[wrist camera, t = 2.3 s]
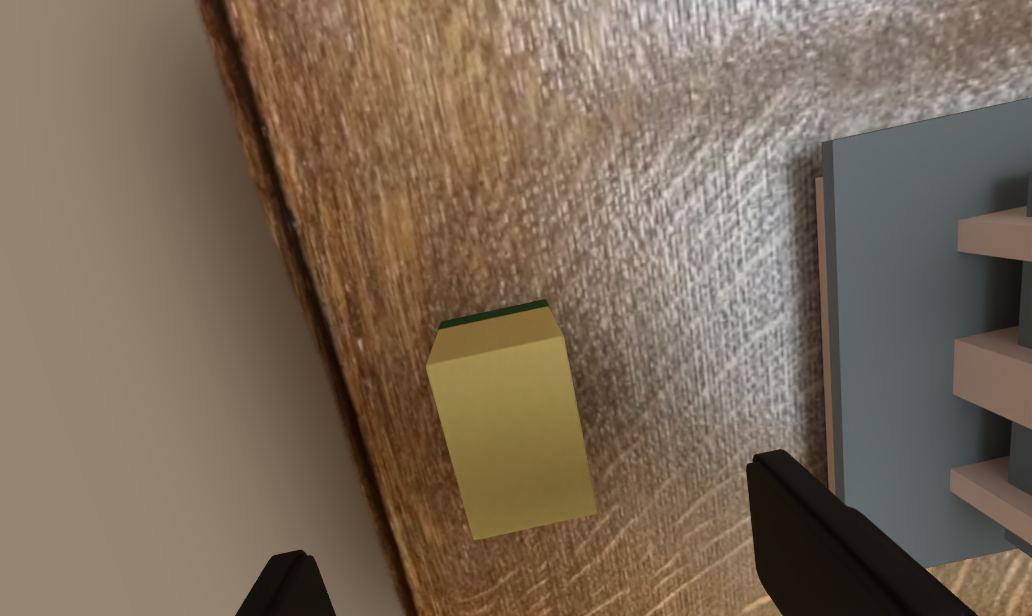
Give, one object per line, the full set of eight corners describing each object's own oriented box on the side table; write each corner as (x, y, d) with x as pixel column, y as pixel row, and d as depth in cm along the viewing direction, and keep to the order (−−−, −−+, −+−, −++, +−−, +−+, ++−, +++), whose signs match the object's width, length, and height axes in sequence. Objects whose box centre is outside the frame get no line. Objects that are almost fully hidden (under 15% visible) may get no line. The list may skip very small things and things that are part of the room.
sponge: (440, 321, 18) (424, 365, 13) (545, 298, 18) (564, 335, 13) (476, 461, 19) (473, 541, 15) (573, 440, 19) (598, 514, 15)
